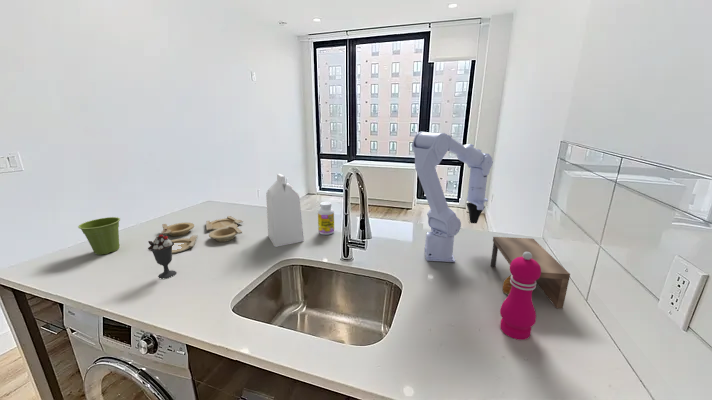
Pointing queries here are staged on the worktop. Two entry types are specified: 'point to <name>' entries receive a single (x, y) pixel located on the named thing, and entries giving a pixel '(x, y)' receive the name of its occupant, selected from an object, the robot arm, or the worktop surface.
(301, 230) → the milk
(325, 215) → the supplement bottle
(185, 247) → the tableware set
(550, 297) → the walnut shelf
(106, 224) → the plant pot
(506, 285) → the pastry
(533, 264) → the pepper mill
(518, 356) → the worktop surface
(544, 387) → the worktop surface
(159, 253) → the sundae
